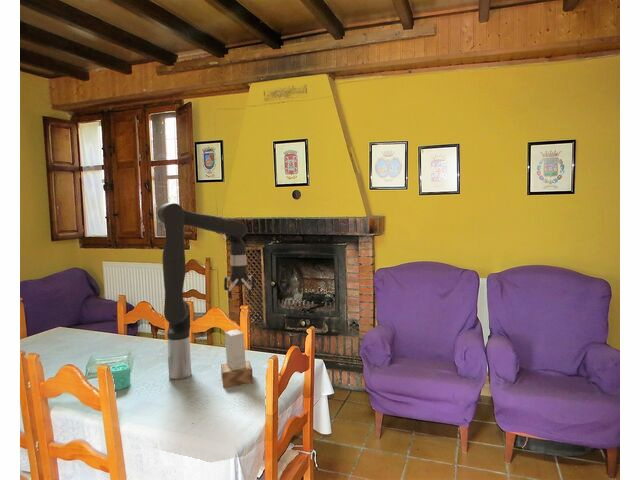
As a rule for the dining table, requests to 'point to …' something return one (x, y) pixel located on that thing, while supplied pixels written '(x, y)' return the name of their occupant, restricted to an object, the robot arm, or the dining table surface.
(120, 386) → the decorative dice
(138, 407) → the dining table surface
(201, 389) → the dining table surface
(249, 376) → the walnut block
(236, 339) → the skincare box
